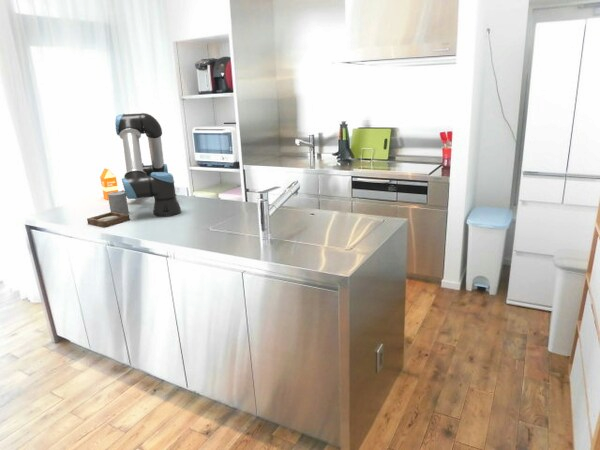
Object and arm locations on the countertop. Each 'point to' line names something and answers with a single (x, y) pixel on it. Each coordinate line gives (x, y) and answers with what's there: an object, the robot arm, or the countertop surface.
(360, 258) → the countertop surface
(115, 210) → the speckled white cylinder
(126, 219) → the walnut seat tray
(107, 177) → the orange juice
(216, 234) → the countertop surface
